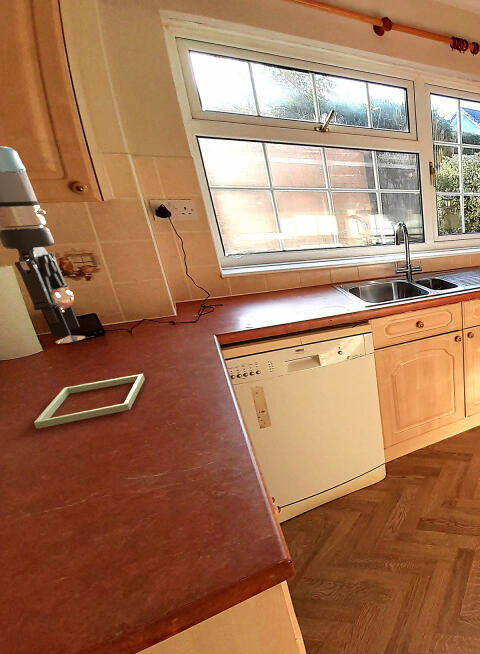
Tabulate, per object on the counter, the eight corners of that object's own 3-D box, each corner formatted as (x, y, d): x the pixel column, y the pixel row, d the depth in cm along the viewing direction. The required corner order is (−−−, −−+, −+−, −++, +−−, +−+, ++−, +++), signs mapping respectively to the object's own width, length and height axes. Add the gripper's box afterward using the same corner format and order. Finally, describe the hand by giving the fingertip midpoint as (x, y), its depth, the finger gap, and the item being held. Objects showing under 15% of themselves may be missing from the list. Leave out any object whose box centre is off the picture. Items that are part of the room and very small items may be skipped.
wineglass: (66, 345, 94) (43, 292, 89) (41, 343, 95) (17, 291, 90) (98, 335, 100) (78, 285, 96) (74, 334, 101) (54, 284, 97)
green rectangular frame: (39, 434, 91) (33, 422, 90) (68, 397, 107) (63, 387, 106) (131, 414, 99) (127, 403, 97) (146, 383, 114) (143, 373, 113)
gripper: (29, 230, 82) (76, 341, 91) (62, 223, 98) (99, 319, 106) (-27, 232, 79) (27, 347, 87) (16, 225, 94) (59, 324, 103)
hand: (67, 331), depth 97 cm, fingers closed on wineglass, 6 cm apart
